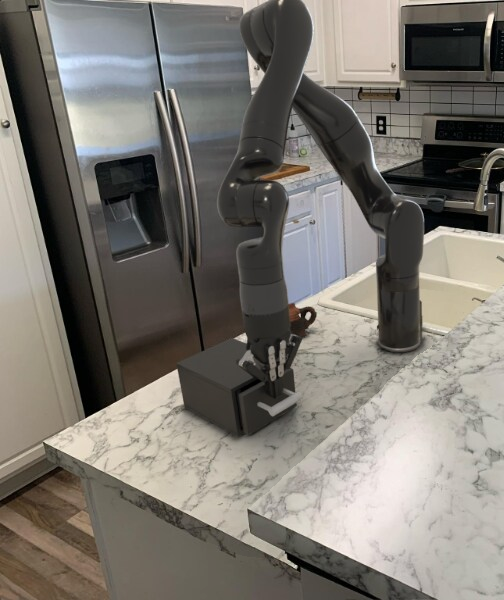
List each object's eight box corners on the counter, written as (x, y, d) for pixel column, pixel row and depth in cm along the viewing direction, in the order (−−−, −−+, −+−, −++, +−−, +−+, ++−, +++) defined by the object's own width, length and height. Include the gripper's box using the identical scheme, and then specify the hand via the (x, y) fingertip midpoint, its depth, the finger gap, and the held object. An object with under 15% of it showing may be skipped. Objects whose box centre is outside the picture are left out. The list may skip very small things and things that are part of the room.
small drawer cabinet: (291, 404, 115) (286, 359, 111) (237, 437, 105) (230, 389, 102) (238, 380, 123) (232, 337, 120) (184, 408, 114) (176, 363, 111)
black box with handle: (314, 413, 110) (311, 376, 107) (266, 445, 102) (261, 405, 99) (246, 382, 121) (241, 347, 118) (197, 408, 113) (190, 371, 110)
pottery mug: (272, 348, 137) (259, 313, 137) (275, 347, 146) (263, 315, 147) (323, 328, 139) (309, 294, 139) (322, 329, 148) (310, 297, 148)
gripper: (280, 286, 106) (288, 373, 112) (216, 311, 96) (230, 405, 103) (310, 296, 101) (317, 386, 108) (247, 323, 92) (259, 420, 99)
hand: (275, 395), depth 105 cm, fingers closed
